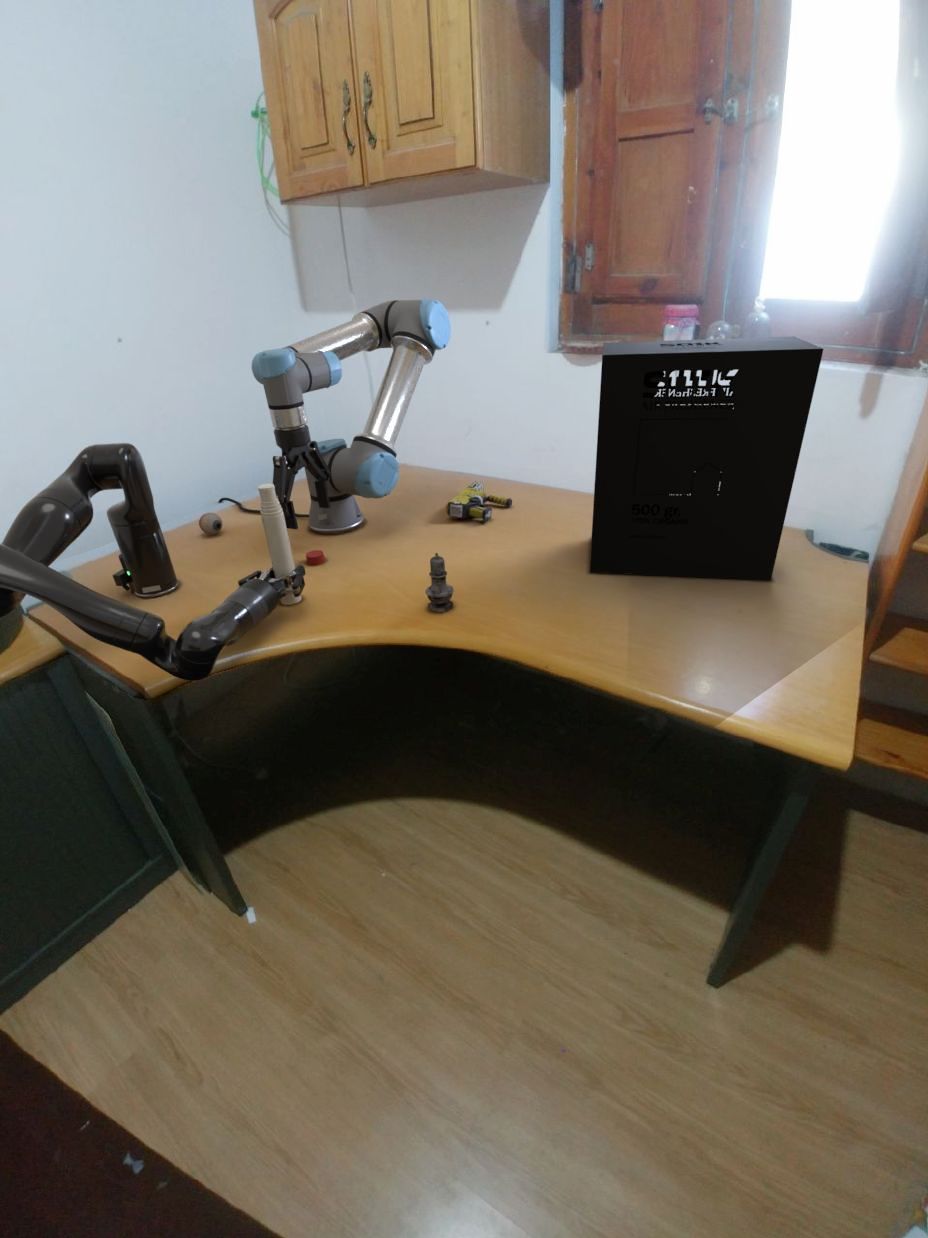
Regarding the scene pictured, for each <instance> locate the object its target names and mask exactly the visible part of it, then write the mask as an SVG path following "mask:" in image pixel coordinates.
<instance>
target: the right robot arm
mask: <svg viewBox="0 0 928 1238" xmlns="http://www.w3.org/2000/svg"><path fill="white" fill-rule="evenodd" d="M451 332H452V329H451V320H450V316H449V313H448V311H447V308H446V307H445V306H444V304H443V303H441V302H440V301H439V300H436V299H428V298H423V299H404V300H403V299H400V300H399V299H398V300H397V299H395V300H388V301H385V302H383V303H379V304H377V305H374V306H371V307H369V308H367V309H365V310H362V311H359V312H357V313H355V314H354V315H353V317H352V318H351V320H349V321H346V322H344V323H342V324H339V325H337V326H334V327H332V328H329V329H327V330H324V331H322V332H319V333H317V334H314V335H312V336H309V337H307V338H305V339H302V340H299V341H297V342H295V343H292V344H289V345H287V346H285V347H281V348H273V349H266V350H262V351H259V352H258V353H256V354H255V355H254V356H253V358H252V361H251V371H252V375H253V377H254V379H255V380H256V381H257V382H258V383H259V384H260V385H262V386H263V389H264V394H265V398H266V402H267V407H268V410H269V415H270V420H271V425H272V427H273V428H274V429H273V435H274V439H275V445H276V446H277V447H278V448H280V450H281V455H273V456H272V464H273V471H272V472H273V473H272V484H274V486H275V492H276V496H277V498H278V500H279V502H280V505H281V507H282V509H283V512H284V517H285V522H286V526H287V530H289V529H290V530H298V529H299V525H298V520H297V519H298V518H308V521H307V522H308V523H307V524H308V528H309V529H308V530H310V531H311V532H312V533H314V534H317V535H323V536H324V535H325V536H327V535H329V536H331V535H339V534H340V535H341V534H345V533H350V532H353V531H355V530H357V529H359V528H361V527H362V526H363V525H364V523H365V519H364V514H363V512H362V510H361V508H360V505H359V504H358V501H357V500H356V498H355V496H357V497H362V498H363V499H364V498H365V499H383V498H384V497H386V496H388V495H389V494H390V493H391V492H392V491H394V489H395V487H396V486H397V483H398V480H399V477H400V471H399V469H400V465H399V461H398V460H397V455H398V453H397V451H396V448H395V444H396V441H397V439H398V436H399V433H400V430H401V428H402V425H403V423H404V420H405V418H406V414H407V411H408V409H409V406H410V404H411V401H412V399H413V395H414V392H415V390H416V387H417V385H418V383H419V379H420V377H421V373H422V371H423V368H424V366H425V365H429V364H430V363H432V361H433V358H434V356H435V353H436V351H441V350H443V349H445V348H446V347H447V346H448V345H449V342H450V339H451ZM378 349H392V353H391V356H390V359H389V360H388V363H387V366H386V369H385V372H384V374H383V378H382V380H381V382H380V385H379V388H378V389H377V393H376V395H375V398H374V401H373V403H372V407H371V409H370V411H369V414H368V417H367V420H366V422H365V425H364V427H363V430H362V433H361V432H360V433H359V434H356V435H354V437H353V439H352V442H351V444H350V447H348V446H347V445H348V443H346V440H345V439H344V438H331V439H326V440H320V441H316V440H312V439H311V434H310V428H309V426H308V425H307V424H308V416H307V412H306V407H305V402H304V396H303V394H307V393H311V392H315V391H318V390H323V389H329V388H331V387H333V386H335V385H337V384H339V383H340V381H341V380H342V377H343V367H342V363H341V361H343V360H345V359H347V358H349V357H352V356H354V355H356V354H359V353H361V352H363V351H364V352H373V351H375V350H378ZM303 468H304V473H305V477H306V482H307V487H308V492H309V498H310V507H309V513H308V514H306V513H304V514H303V513H296V510H295V506H294V502H293V500H291V495H292V492H293V487H294V483H295V478H296V475H297V474H298V473H299V471H300V470H302V469H303ZM223 501H228V502H231V503H233V504H235V505H237V506H238V508H239V509H240V510H241V511H243V512H247V513H252V514H261V512H260V511H261V509H250V508H246V507H243V505H242V503H241V502H240V501H237V500H235V499H232V498H230V497H221V498H219V500H218V504H221V503H222V502H223Z"/></svg>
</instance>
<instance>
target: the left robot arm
mask: <svg viewBox="0 0 928 1238" xmlns="http://www.w3.org/2000/svg"><path fill="white" fill-rule="evenodd" d="M144 462H145V461H144V459H143V457H142V455H141V452H140V451H139V449H138V448H137V447H136V446H135V445H134V444H132V443H129V442H114V443H112V442H111V443H95V444H93V445H92V444H91V445H88V446H86V447H85V448H83V449H82V450H81V451H79V453H78V454H77V455H76V456H75V458H74V459H73V460H72V461H71V463H70V464H69V466H67V468H66V469H65V470H64V471H63V472H62V473H61V474H60V475H59V476H57V477H56V478H55V479H54V480H53V481H52V482H51V483H50V484H48V486H46V487H45V488H44V489H42V490H41V491H40V492H38V493H37V494H36V495H35V496H34V497H32V498H31V499H30V500H28V502H27V503H26V504H25V505H24V506H23V507H22V508H21V509H20V511H19V512H18V514H17V515H16V516H15V518H14V520H13V521H12V523H11V524H10V527H9V529H7V532H6V534H5V536H4V538H3V540H2V542H1V543H0V619H1V618H4V617H6V616H8V615H10V614H11V613H13V612H14V611H15V610H16V609H17V608H18V607H19V606H20V605H21V603H22V602H23V600H24V599H25V597H26V596H29V597H32V598H35V599H36V600H38V601H40V602H42V603H45V604H46V605H48V606H49V607H51V608H53V609H54V610H55V611H57V612H58V613H60V614H61V615H62V616H64V617H65V618H66V619H67V620H69V622H71V623H72V624H73V625H75V626H76V627H77V629H80V630H81V631H83V632H84V633H85V634H87V635H88V636H90V637H92V638H93V639H95V640H96V641H98V642H101V643H103V644H105V645H106V644H107V645H109V646H113V647H115V648H118V649H121V650H124V651H126V652H130V653H133V654H136V655H138V656H141V657H142V658H143V659H145V660H146V661H148V662H149V663H151V664H152V665H154V666H155V667H158V668H159V669H161V670H162V671H164V672H166V673H167V674H169V675H170V676H172V677H175V678H177V679H180V680H183V681H190V682H191V681H192V682H194V681H195V682H196V681H200V680H201V681H202V680H204V679H205V678H207V677H208V676H210V674H211V673H212V671H213V669H214V668H215V665H216V662H217V660H218V659H219V657H220V654H221V652H222V651H223V649H224V648H226V647H232V646H234V645H235V644H236V643H238V642H239V641H240V640H242V639H243V638H245V636H246V635H247V634H248V633H250V632H251V630H253V629H254V628H256V627H257V626H259V625H260V624H261V623H262V622H263V621H264V620H265V619H266V618H267V617H268V616H269V615H271V613H272V612H273V611H274V610H275V609H276V608H277V607H278V604H279V601H280V598H282V597H285V596H286V594H294V597H299V596H300V595H301V596H302V593H303V590H304V588H305V586H306V582H305V578H304V577H305V576H306V568H305V565H304V564H299V565H297V566H296V567H295V569H294V570H293V571H292V572H291V573H290V574H288V575H286V574H283V575H281V576H279V577H277V578H275V574H274V570H273V566H272V567H270V568H269V569H266V570H264V571H263V572H262V570H256V571H254V572H252V573H250V574H248V575H246V576H245V577H243V578H241V579H239V580H237V585H238V587H237V589H236V590H235V591H233V592H232V593H231V594H230V595H229V596H228V597H226V599H224V601H223V602H221V604H220V605H218V606H217V607H216V608H215V609H214V610H212V611H211V612H210V613H207V614H205V615H203V616H200V617H198V618H196V619H193V620H191V621H190V622H189V623H187V625H185V627H183V629H181V631H180V633H179V634H178V637H177V640H176V639H175V638H173V637H171V636H170V635H168V633H167V632H166V631H167V630H166V623H165V620H164V619H163V618H162V617H161V616H159V615H156V614H154V613H152V612H148V611H146V610H144V609H140V608H137V607H135V606H132V605H130V604H128V603H127V604H126V603H124V602H122V601H118V600H116V599H114V598H111V597H109V596H106V595H104V594H102V593H100V592H98V591H95V590H94V589H92V588H90V587H88V586H85V585H84V584H82V583H80V582H78V581H76V580H74V579H72V578H71V577H68V576H67V575H65V574H63V573H61V572H60V571H58V570H55V569H54V568H52V567H50V566H51V565H52V564H53V563H54V562H55V561H56V560H57V559H58V558H59V557H60V556H62V554H63V553H64V552H65V551H66V550H67V549H68V547H69V546H71V545H72V543H74V542H75V541H76V540H77V539H78V538H79V537H80V536H81V535H82V534H83V533H84V532H85V531H86V530H87V528H88V527H89V526H90V525H91V523H92V521H93V519H94V507H93V502H92V500H91V499H92V498H93V497H94V496H95V495H96V494H98V493H100V492H103V491H110V490H122V492H123V496H124V499H123V500H121V501H119V502H116V503H115V504H112V505H111V506H110V507H108V508H107V510H106V517H107V519H108V522H109V525H110V528H111V530H112V532H113V535H114V539H115V541H116V543H117V546H118V549H119V554H118V559H119V562H120V565H121V567H122V569H119V571H117V572H115V573H113V574H112V575H111V576H112V578H113V581H114V583H115V586H116V587H122V588H123V590H125V591H126V592H128V591H130V592H131V594H135V596H136V597H138V598H140V599H141V598H142V599H150V598H157V597H162V596H164V595H167V594H169V593H172V592H173V591H175V590H176V589H177V588H178V587H179V585H180V582H179V580H178V578H177V574H176V571H175V567H174V565H173V561H172V559H171V556H170V552H169V549H168V546H167V543H166V540H165V537H164V533H163V531H162V528H161V525H160V521H159V519H158V515H157V512H156V510H155V502H154V496H153V492H152V488H151V484H150V481H149V477H148V472H147V468H146V465H145V463H144ZM291 578H292V582H290V579H291ZM283 580H284V581H283Z"/></svg>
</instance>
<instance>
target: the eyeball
mask: <svg viewBox="0 0 928 1238" xmlns="http://www.w3.org/2000/svg"><path fill="white" fill-rule="evenodd" d="M198 526H199V528H200V530H201V531H202V532H203V533H204V534H206V535H212V536H214V535H216V534H218V533H220V532H221V531H222V529H223V520H222V518H221V517H220V515H218V514H217V513H214V512H206V513H203V515H201V516H200V517H199V520H198Z"/></svg>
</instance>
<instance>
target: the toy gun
mask: <svg viewBox="0 0 928 1238" xmlns="http://www.w3.org/2000/svg"><path fill="white" fill-rule="evenodd" d="M487 502H488V503H493V504H496V505H500V506H504V507H506V508H510V507H511V506H512V505H513V499H512V498H509V497H504V496H500V495H499V496H498V495H494V494H492V493H490V494H489V495H488V496H487V495H486V492H485V483H484V482H483V481H480V482H479V481H477V480H474V482H473V483H471V484H470V485H468V486H467V487H465V488H464V489H462V491H460V492H459V493H458V494H456V496H454V497H453V498H452V499H451V500H449V501H448V502H447V505H446V514H447V516H448V517H451V518H452V519H455V520H458V519H459V518H460V519H467V518H471V517H475V518H479V519H482V522H484V523H485V522H487V521H488V520H491V518H492V512H493V507H492V506H485V505H484V504H486V503H487Z"/></svg>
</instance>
